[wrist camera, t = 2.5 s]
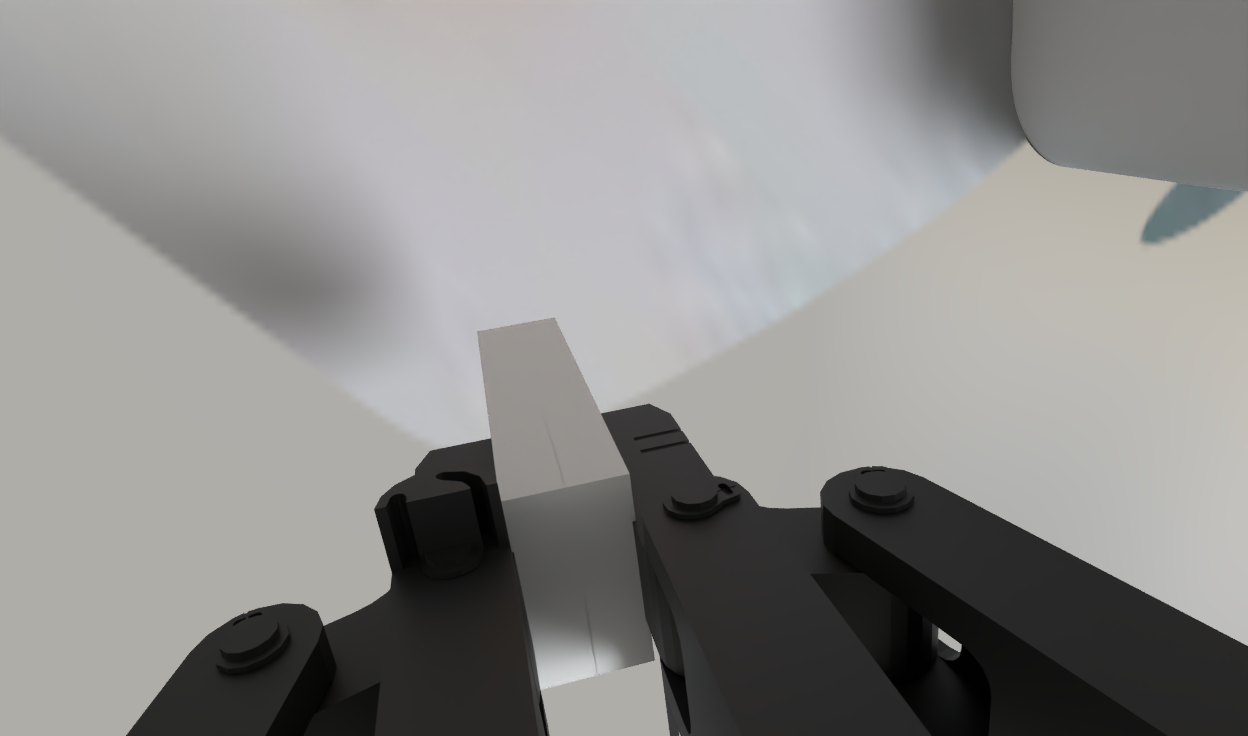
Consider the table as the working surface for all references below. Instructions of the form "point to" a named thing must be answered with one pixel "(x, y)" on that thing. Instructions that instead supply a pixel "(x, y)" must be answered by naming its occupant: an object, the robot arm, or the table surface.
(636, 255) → the table surface
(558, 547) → the robot arm
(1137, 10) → the lumpy-topped squat cylinder
